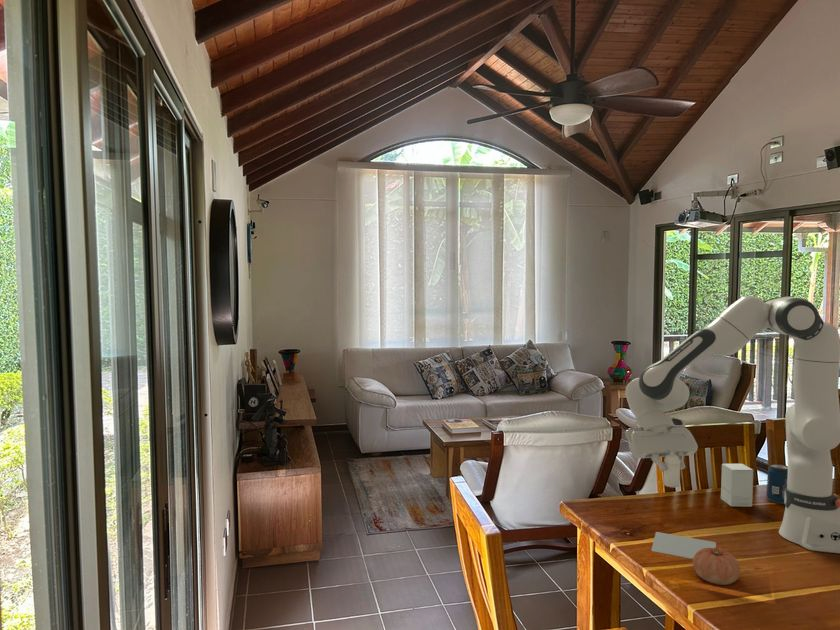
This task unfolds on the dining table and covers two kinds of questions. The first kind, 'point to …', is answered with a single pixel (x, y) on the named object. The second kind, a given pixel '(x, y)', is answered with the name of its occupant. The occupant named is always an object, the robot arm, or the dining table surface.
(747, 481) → the supplement box
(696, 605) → the dining table surface
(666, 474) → the white rounded bottle
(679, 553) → the grey pad
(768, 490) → the soda can
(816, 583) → the dining table surface
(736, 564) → the tomato
